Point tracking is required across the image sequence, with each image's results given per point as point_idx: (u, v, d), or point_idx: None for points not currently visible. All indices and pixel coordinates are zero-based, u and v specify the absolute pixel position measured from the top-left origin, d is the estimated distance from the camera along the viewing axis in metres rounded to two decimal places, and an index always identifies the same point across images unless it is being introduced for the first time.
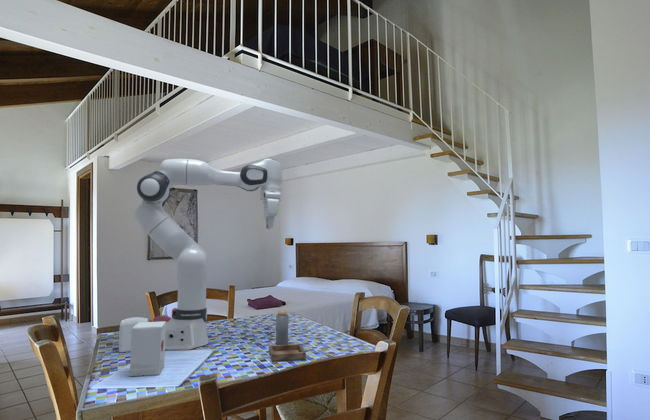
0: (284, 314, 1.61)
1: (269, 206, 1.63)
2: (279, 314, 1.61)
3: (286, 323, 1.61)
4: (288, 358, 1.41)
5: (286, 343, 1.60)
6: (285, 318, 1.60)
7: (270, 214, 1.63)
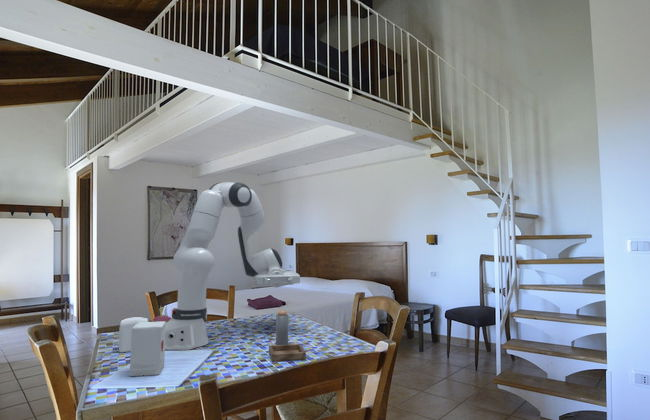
0: (284, 314, 1.61)
1: None
2: (279, 314, 1.61)
3: (286, 323, 1.61)
4: (288, 358, 1.41)
5: (286, 343, 1.60)
6: (285, 318, 1.60)
7: (299, 277, 1.83)
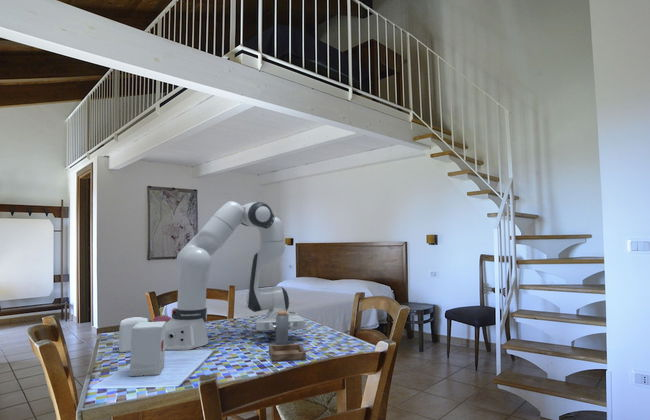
0: (284, 314, 1.61)
1: None
2: (279, 314, 1.61)
3: (286, 323, 1.61)
4: (288, 358, 1.41)
5: (286, 343, 1.60)
6: (285, 318, 1.60)
7: (303, 322, 1.68)
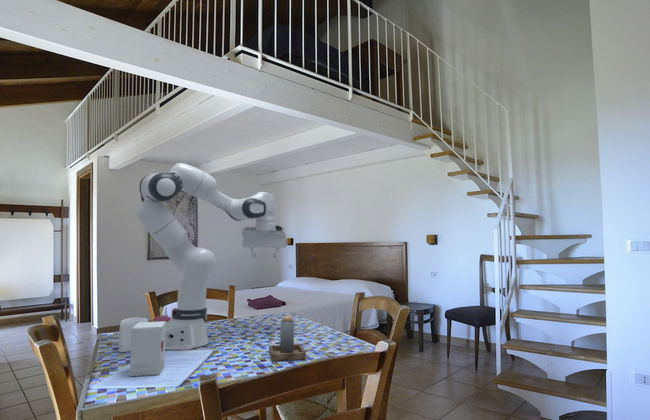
0: (289, 320, 1.46)
1: (286, 239, 1.84)
2: (284, 320, 1.46)
3: (292, 330, 1.46)
4: (288, 358, 1.41)
5: (292, 352, 1.46)
6: (290, 325, 1.46)
7: None
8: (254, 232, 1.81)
